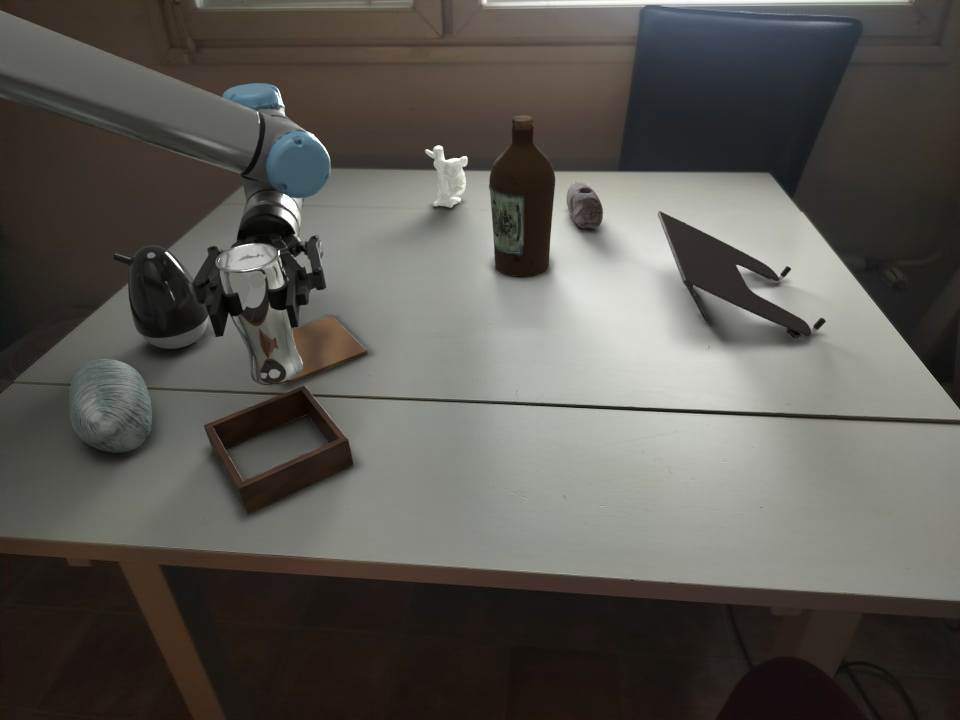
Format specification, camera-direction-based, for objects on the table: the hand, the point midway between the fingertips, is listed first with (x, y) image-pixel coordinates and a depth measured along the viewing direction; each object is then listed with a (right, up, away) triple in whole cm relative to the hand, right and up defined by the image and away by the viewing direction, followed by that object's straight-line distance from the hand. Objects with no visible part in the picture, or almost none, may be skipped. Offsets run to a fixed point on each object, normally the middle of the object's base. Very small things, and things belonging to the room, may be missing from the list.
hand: (254, 320), depth 69 cm
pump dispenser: (-22, -1, +31) cm, 38 cm away
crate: (0, -16, +9) cm, 18 cm away
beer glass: (-1, -5, +10) cm, 11 cm away
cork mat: (-1, -2, +28) cm, 28 cm away
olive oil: (+31, +12, +47) cm, 58 cm away
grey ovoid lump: (-22, -13, +15) cm, 29 cm away
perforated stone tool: (+43, +24, +62) cm, 79 cm away
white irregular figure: (+17, +29, +70) cm, 78 cm away
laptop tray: (+62, +4, +34) cm, 71 cm away
